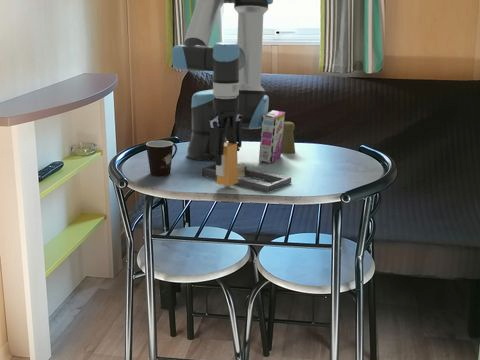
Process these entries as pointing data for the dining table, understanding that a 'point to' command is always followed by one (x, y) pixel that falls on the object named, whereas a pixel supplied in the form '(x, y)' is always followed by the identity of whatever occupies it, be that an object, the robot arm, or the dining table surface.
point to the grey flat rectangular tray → (262, 186)
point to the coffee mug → (160, 157)
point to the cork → (288, 138)
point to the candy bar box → (271, 136)
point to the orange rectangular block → (229, 165)
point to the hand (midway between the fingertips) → (225, 173)
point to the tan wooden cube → (241, 170)
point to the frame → (211, 171)
